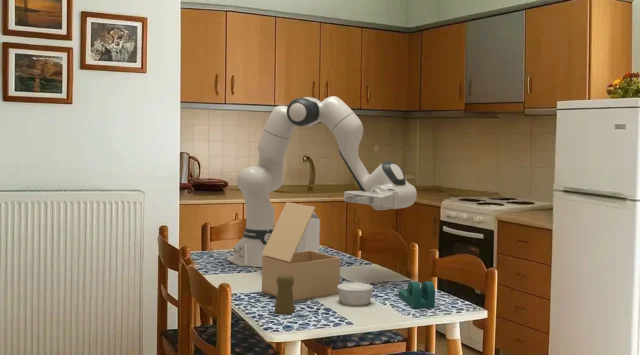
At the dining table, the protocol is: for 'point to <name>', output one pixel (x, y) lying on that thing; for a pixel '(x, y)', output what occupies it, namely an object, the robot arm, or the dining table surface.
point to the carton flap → (288, 231)
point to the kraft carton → (303, 274)
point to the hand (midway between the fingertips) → (351, 199)
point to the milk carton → (311, 236)
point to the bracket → (419, 295)
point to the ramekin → (355, 293)
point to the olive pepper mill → (285, 295)
